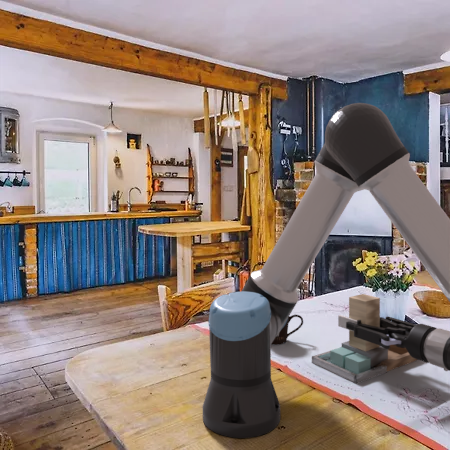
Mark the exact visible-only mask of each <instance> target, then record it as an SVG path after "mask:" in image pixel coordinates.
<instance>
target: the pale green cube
mask: <svg viewBox="0 0 450 450" xmlns="http://www.w3.org/2000/svg"><path fill="white" fill-rule="evenodd" d="M329 351H330V359H329V360H330V361H329V363H332V364H334V365H336V366H338V367H341V368H343V369H345V357H346V356H349V355H352V354H355V352H354V351H351V350H349V349H346V348H344V347H342V346H341V347H338V348H334V349H331V350H329Z"/></svg>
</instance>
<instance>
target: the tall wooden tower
mask: <svg viewBox="0 0 450 450" xmlns="http://www.w3.org/2000/svg"><path fill="white" fill-rule="evenodd" d="M380 308H381V299H380V297H377V296H374V295H373V296H372V295H369V294H365V293H362V294H357V295H352V296H349V297H348V318H352V319H355V320H361V323H362V324H367V325H371V326H376V327H380V317H381V315H380V314H381V309H380ZM348 337H349V338H348V341H345V342H341V347H344V348H346V349H349V350H351V351H354V352H355V353H359V354H361V355H364V356H366V357H369V358H371V368H374V367H373V366H375V365H378V364H381V362H382V361H385V360H388V349H385V348H383V347H381V346H380V345H377V344H374V343H371V342H368V341H365V340H363V339H360V338H357V337H354V331H351V330H348Z"/></svg>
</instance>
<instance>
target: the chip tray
mask: <svg viewBox="0 0 450 450" xmlns="http://www.w3.org/2000/svg"><path fill="white" fill-rule="evenodd" d="M327 360H330V350H329V351H325V352H321V353H319V354H314V355H311V363H312V364H314V365H316V366H318V367H320V368H322V369H325V370H327V371H328V372H331V373H333V374H335V375H337V376H340V377H342V378H343V379H346V380H348V381H350V382H353V383H354V384H359V383H362V382H365V381H367V380H370V379H374V378H375V377H379V376H381V375H384V374H386V373H387V372H388V371H387V366H385V365H382V366H379V367H376V368H374V367H372V368H371V370H368V371H365V372H362V373H359V374H355V373H353V372H350V371H348V370H346V369H345V368H341V367H339V366H337V365H335V364H332V363H330V361H327Z"/></svg>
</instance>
